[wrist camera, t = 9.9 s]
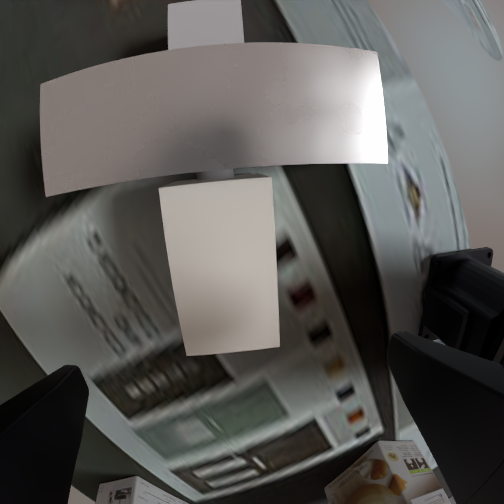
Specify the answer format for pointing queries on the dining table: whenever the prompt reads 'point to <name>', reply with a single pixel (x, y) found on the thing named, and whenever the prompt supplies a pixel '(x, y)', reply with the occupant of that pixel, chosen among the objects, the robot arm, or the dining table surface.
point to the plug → (220, 225)
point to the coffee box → (388, 478)
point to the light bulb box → (134, 493)
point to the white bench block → (211, 113)
